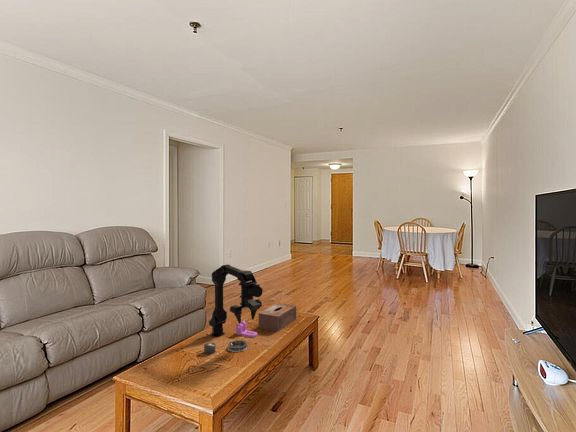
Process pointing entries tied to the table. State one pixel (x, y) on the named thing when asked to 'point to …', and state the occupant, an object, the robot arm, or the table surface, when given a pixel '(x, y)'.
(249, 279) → the robot arm
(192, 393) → the table surface
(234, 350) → the shallow metal dish
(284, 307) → the tissue box cover
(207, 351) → the cap
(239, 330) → the bracket
